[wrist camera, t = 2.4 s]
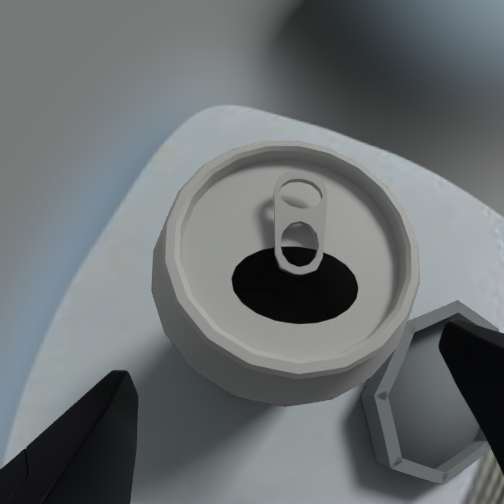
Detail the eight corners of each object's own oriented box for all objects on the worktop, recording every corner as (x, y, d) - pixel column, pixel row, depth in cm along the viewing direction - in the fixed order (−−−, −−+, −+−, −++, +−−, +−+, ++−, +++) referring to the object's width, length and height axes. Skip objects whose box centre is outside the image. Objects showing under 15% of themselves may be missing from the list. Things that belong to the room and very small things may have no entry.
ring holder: (454, 486, 12) (471, 491, 10) (332, 444, 14) (344, 450, 12) (504, 351, 16) (520, 345, 15) (407, 287, 19) (421, 276, 17)
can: (192, 389, 16) (100, 385, 5) (206, 270, 19) (173, 114, 8) (321, 398, 16) (458, 395, 5) (323, 279, 19) (411, 142, 8)
